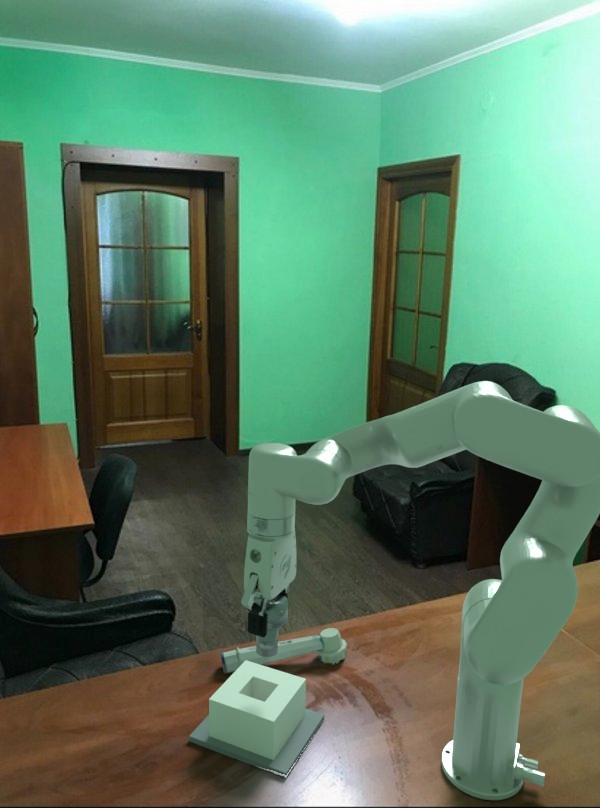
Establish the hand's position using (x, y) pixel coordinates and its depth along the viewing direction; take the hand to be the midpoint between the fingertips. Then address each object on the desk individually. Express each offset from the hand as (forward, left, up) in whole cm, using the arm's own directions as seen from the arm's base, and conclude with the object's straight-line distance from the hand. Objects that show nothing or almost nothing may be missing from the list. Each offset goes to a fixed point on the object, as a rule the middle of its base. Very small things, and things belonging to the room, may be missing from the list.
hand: (267, 622), depth 108 cm
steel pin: (0, 0, -5) cm, 5 cm away
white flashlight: (+6, -18, -21) cm, 28 cm away
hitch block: (+1, +1, -20) cm, 20 cm away
